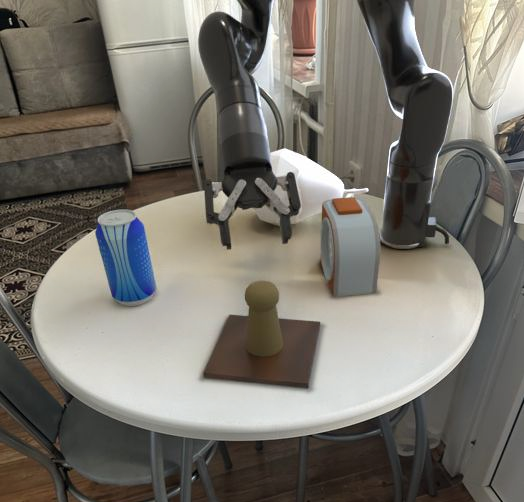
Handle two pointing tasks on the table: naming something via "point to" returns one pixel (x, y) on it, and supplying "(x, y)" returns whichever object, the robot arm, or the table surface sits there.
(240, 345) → the place mat
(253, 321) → the olive game pawn
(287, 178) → the robot arm
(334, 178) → the pear ornament
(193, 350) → the table surface
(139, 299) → the beer can
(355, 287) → the alarm clock
